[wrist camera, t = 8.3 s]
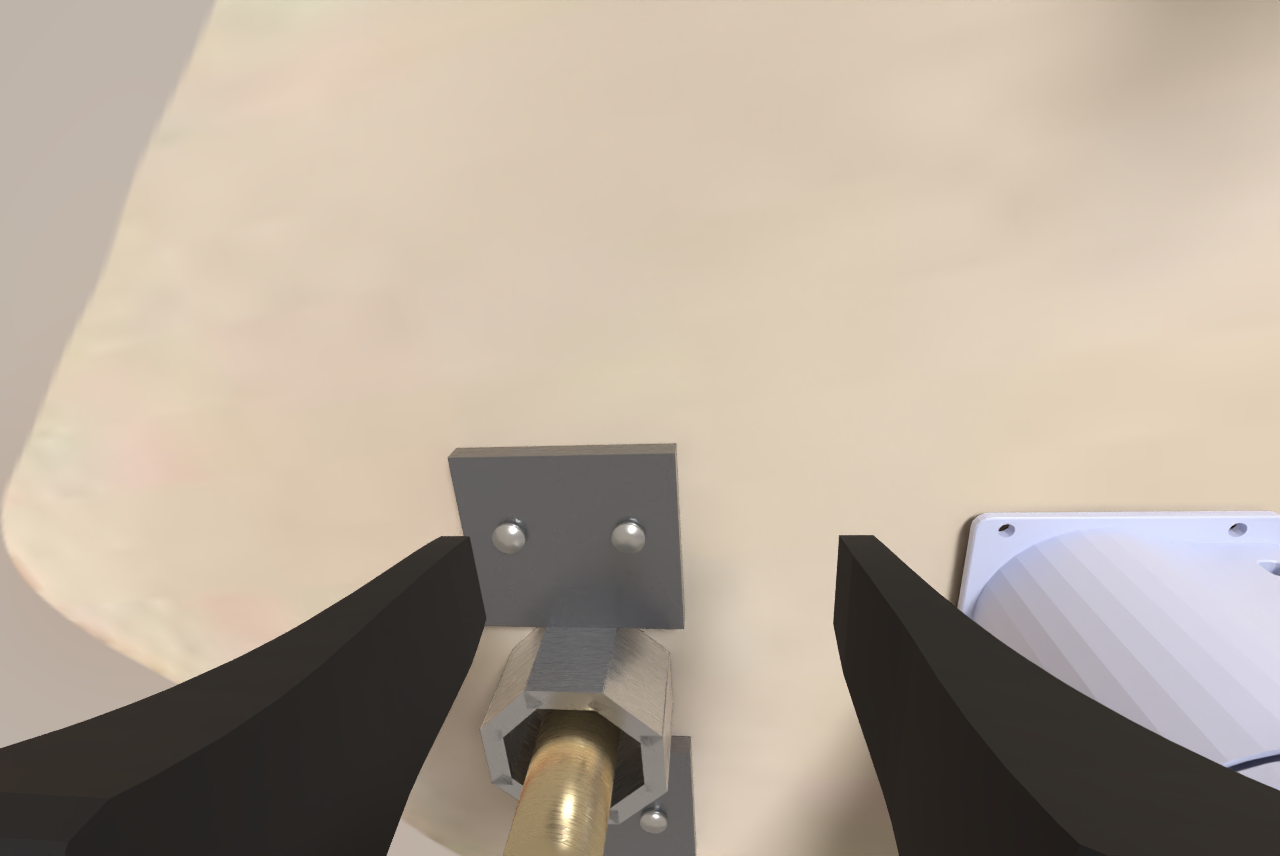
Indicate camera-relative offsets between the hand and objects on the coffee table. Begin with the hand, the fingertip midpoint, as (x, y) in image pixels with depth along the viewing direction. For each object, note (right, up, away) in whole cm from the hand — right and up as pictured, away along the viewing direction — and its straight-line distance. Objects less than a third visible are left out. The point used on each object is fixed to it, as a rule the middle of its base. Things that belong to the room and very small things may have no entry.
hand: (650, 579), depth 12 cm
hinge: (-2, -8, +14) cm, 16 cm away
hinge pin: (-2, -7, +14) cm, 16 cm away
